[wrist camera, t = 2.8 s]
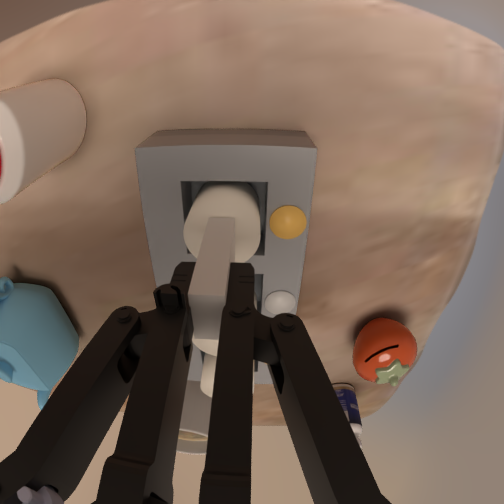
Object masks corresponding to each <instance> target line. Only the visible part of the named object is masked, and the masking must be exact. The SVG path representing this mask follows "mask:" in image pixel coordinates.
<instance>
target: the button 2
mask: <svg viewBox="0 0 504 504" xmlns="http://www.w3.org/2000/svg"><path fill="white" fill-rule="evenodd" d="M209 218H235V262H238V263H244V262H246V261H247V260H249V259H250V258H251V257H252V256H253V255H254V254H255V252H256V251H257V249H258V246H259V243H260V203H259V198H258V196H257V194H256V192H255V191H254V189H253V188H252V187H251V186H250V185H249V184H248V183H246V182H245V181H208V182H207V183H205V184H204V185H203V186H202V187H201V188H200V190H199V191H198V193H197V195H196V198H195V200H194V202H193V205H192V207H191V209H190V212H189V214H188V217H187V219H186V222H185V225H184V230H183V236H184V241H185V244H186V246H187V248H188V249H189V251H190V252H191V253H192V254H193V256H195V257H196V258H197V257H198V254H199V250H200V247H201V243H202V239H203V236H204V232H205V229H206V225H207V222H208V219H209Z"/></svg>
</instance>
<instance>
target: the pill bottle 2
mask: <svg viewBox="0 0 504 504" xmlns="http://www.w3.org/2000/svg"><path fill="white" fill-rule="evenodd" d="M332 386H333V388H334V390H335V392H336V395H337V397H338V399H339V401H340V403H341V406H342V408H343V410H344V412H345V414H346V417H347V419H348V421H349V423H350V425H351V428H352V430H353V432H354V434H355V436H356V439H357V441H358V443H359V445H360V448H361V449H362V443H361V440H360V439H359V438H358V437H359V435H360V434H361V432H362V424H361V419H360V414H359V409H358V404H357V399H356V395H355V390H354V388H353V387H352V386H350V385H348V384H334V385H332Z"/></svg>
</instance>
